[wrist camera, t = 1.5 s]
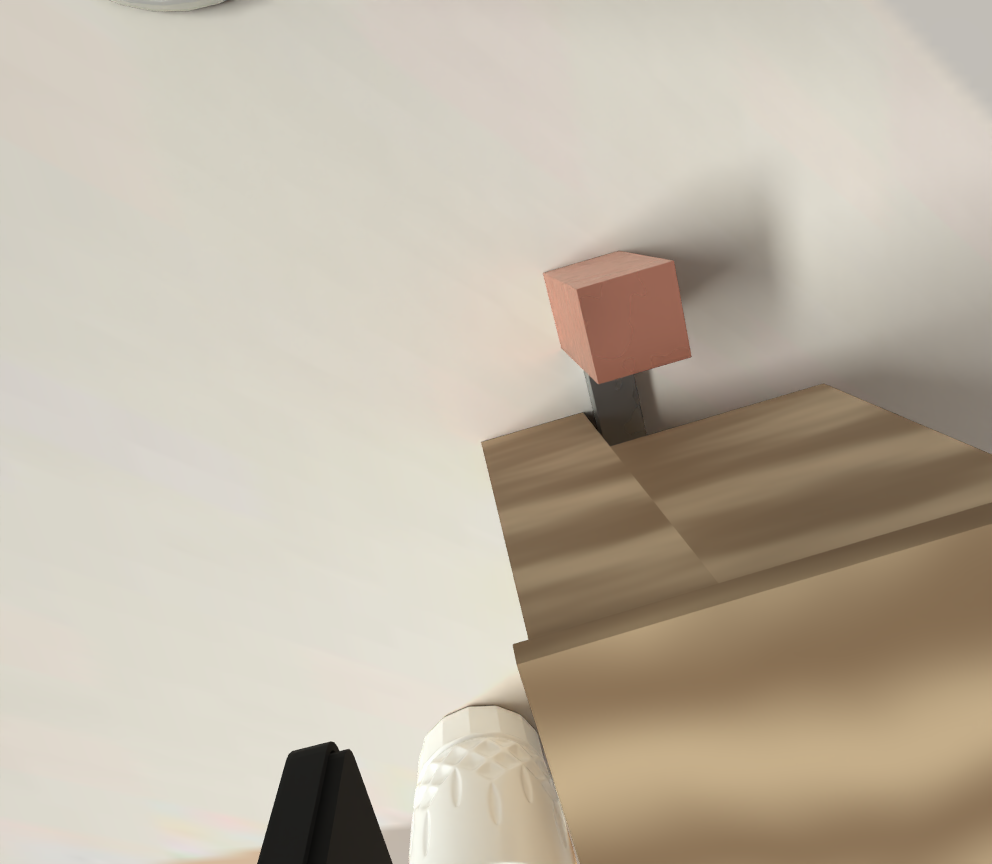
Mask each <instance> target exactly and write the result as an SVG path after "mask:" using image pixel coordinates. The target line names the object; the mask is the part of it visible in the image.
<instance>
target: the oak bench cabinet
mask: <svg viewBox="0 0 992 864" xmlns="http://www.w3.org/2000/svg"><path fill="white" fill-rule="evenodd" d="M481 443H482V447H483V452H484V456H485V460H486V464H487V468H488V472H489V477H490V481H491V485H492V489H493V493H494V497H495V502H496V506H497V510H498V514H499V518H500V522H501V527H502V531H503V535H504V539H505V543H506V547H507V552H508V556H509V560H510V564H511V568H512V572H513V577H514V581H515V585H516V589H517V593H518V597H519V602H520V606H521V610H522V614H523V618H524V622H525V627H526V631H527V635H528V639H529V640H526V641H522V642H519V643H516V644H513V649H514V654H515V659H516V664H517V667H518V670H519V673H520V677H521V680H522V683H523V686H524V689H525V692H526V695H527V698H528V702H529V705H530V708H531V711H532V714H533V717H534V720H535V724H536V727H537V730H538V733H539V736H540V739H541V742H542V746H543V749H544V752H545V755H546V758H547V761H548V764H549V768H550V771H551V774H552V777H553V780H554V783H555V786H556V790H557V793H558V796H559V799H560V802H561V805H562V808H563V811H564V815H565V818H566V821H567V824H568V827H569V830H570V833H571V837H572V840H573V843H574V846H575V849H576V852H577V855H578V859H579V862H580V864H992V454H989V453H987V452H985V451H982V450H980V449H978V448H975V447H973V446H970V445H968V444H966V443H963V442H961V441H959V440H956V439H954V438H952V437H949V436H947V435H944V434H942V433H940V432H937V431H935V430H933V429H930V428H928V427H925V426H923V425H921V424H918V423H916V422H914V421H911V420H909V419H907V418H904V417H902V416H899V415H897V414H895V413H892V412H890V411H888V410H885V409H883V408H880V407H878V406H876V405H873V404H871V403H869V402H866V401H864V400H862V399H859V398H857V397H854V396H852V395H850V394H847V393H845V392H843V391H840V390H838V389H835V388H833V387H831V386H828V385H826V384H820V385H817V386H814V387H810V388H807V389H803V390H800V391H797V392H793V393H790V394H786V395H783V396H780V397H776V398H773V399H770V400H766V401H763V402H759V403H756V404H753V405H749V406H746V407H742V408H739V409H736V410H732V411H729V412H725V413H722V414H719V415H715V416H712V417H708V418H705V419H702V420H698V421H695V422H691V423H688V424H685V425H681V426H678V427H674V428H671V429H668V430H664V431H661V432H657V433H654V434H651V435H647V436H644V437H640V438H637V439H634V440H630V441H627V442H623V443H620V444H617V445H613V446H609V445H608V443H607V442H606V441H605V440H604V438H603V437H602V436H601V435H600V433H599V432H598V431H597V430H596V428H595V427H594V426H593V425H592V423H591V422H590V421H589V419H588V418H587V417H586V416H585V414H584V413H583V412H582V413H579V414H576V415H572V416H569V417H565V418H562V419H559V420H555V421H552V422H548V423H545V424H542V425H538V426H535V427H531V428H528V429H525V430H521V431H518V432H514V433H511V434H508V435H504V436H501V437H497V438H494V439H491V440H487V441H484V442H481Z"/></svg>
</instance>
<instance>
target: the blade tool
mask: <svg viewBox="0 0 992 864" xmlns="http://www.w3.org/2000/svg"><path fill="white" fill-rule="evenodd" d="M543 275H544V279H545V283H546V287H547V292H548V296H549V300H550V304H551V308H552V312H553V316H554V320H555V324H556V328H557V332H558V336H559V340H560V344H561V348H562V349H563V350H564V351H565V352H566V353H567V354H568V355H569V356H570V357H571V358H572V359H573V360H574V361H575V362H576V363H577V364H578V365H579V366H580V367H581V368H582V369H583V370H584V374H585V378H586V383H587V387H588V391H589V395H590V399H591V403H592V408H593V412H594V416H595V420H596V424H597V429H598V432H599V433H600V435H601V436H602V437H603V438H604V440H605V441H606V442H607V443H608V445H609V446H613V445H617V444H620V443H623V442H627V441H630V440H634V439H637V438H640V437H644V436H647V435H646V430H645V425H644V421H643V416H642V411H641V407H640V402H639V397H638V393H637V388H636V383H635V379H634V374H635V373H639V372H642V371H646V370H649V369H652V368H656V367H659V366H663V365H666V364H669V363H673V362H676V361H680V360H683V359H686V358H690V357H691V351H690V346H689V340H688V335H687V330H686V324H685V319H684V313H683V308H682V302H681V297H680V291H679V286H678V281H677V275H676V270H675V264H674V261H673V260H667V259H662V258H656V257H651V256H645V255H640V254H634V253H628V252H623V251H617V252H613V253H610V254H606V255H603V256H599V257H596V258H593V259H589V260H586V261H582V262H579V263H575V264H572V265H569V266H565V267H562V268H558V269H555V270H552V271H548V272H545V273H543Z"/></svg>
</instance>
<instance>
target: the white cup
mask: <svg viewBox="0 0 992 864" xmlns="http://www.w3.org/2000/svg"><path fill="white" fill-rule="evenodd" d="M408 864H577V861H576V857H575V854H574V851H573V846H572V843H571V839H570V836H569V833H568V829H567V825H566V822H565V818H564V815H563V812H562V808H561V804H560V801H559V798H558V795H557V792H556V789H555V786H554V783H553V779H552V777H551V776H550V774H549V772H548V769H547V766H546V763H545V760H544V756H543V753H542V749H541V745H540V741H539V737H538V734H537V732H536V731H535V730H534V729H533V727H532V726H531V725H530V724H529V723H528V722H527V721H526V720H525V719H524V718H523V717H522V716H521V715H520V714H517V713H515V712H512V711H509V710H507V709H504V708H501V707H498V706H474V707H466V708H464V709H462V710H460V711H457V712H455V713H453V714H450V715H448V716H446V717H444V718H442V719H441V720H440V722H439V723H438V724H437V725H436V726H435V727H434V728H433V729H432V730H431V731H430V732H429V733H428V734H427V735H426V737H425V739H424V743H423V746H422V750H421V754H420V757H419V763H418V779H417V786H416V791H415V797H414V807H413V818H412V826H411V836H410V849H409V863H408Z"/></svg>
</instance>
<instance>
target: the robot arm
mask: <svg viewBox="0 0 992 864" xmlns="http://www.w3.org/2000/svg"><path fill="white" fill-rule="evenodd" d="M110 1H112V2H115V3H117V4H120V5H125V6H130V7H135V8H140V9H145V10H150V11H190V10H194V9H198V8H203V7H207V6H211V5H216V4H219V3H221V2H223V1H226V0H110ZM257 864H392V861H391V858H390V855H389V852H388V850H387V847H386V844H385V841H384V838H383V835H382V833H381V830H380V827H379V824H378V822H377V819H376V816H375V813H374V810H373V808H372V805H371V802H370V799H369V796H368V794H367V791H366V788H365V785H364V783H363V780H362V777H361V774H360V771H359V769H358V766H357V763H356V760H355V757H354V755H353V753H352V751H351V750H350V749H347V750H343V751H339V749H338V747H337V745H336V744H335V743H334V742H327V743H323V744H319V745H315V746H311V747H307V748H303V749H299V750H295V751H292V752H291V753H289V755H288V757H287V760H286V763H285V766H284V770H283V774H282V777H281V781H280V784H279V788H278V791H277V795H276V799H275V802H274V806H273V809H272V813H271V816H270V820H269V824H268V827H267V831H266V834H265V838H264V841H263V845H262V849H261V852H260V856H259V859H258V863H257Z"/></svg>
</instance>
